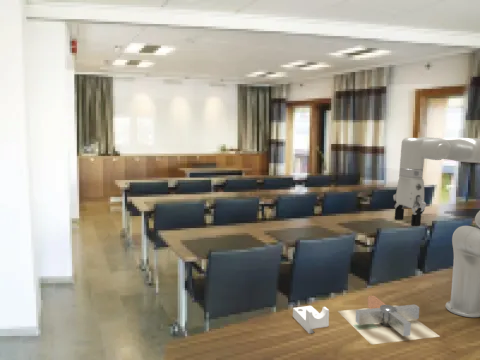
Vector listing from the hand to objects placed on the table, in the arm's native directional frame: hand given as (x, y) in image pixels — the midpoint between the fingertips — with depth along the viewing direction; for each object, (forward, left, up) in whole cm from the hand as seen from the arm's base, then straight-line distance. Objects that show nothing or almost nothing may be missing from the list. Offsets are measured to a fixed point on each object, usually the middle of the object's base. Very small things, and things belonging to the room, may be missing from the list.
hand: (407, 222), depth 149 cm
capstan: (+10, +7, -33) cm, 35 cm away
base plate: (+10, +6, -34) cm, 36 cm away
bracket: (+34, -2, -35) cm, 49 cm away
